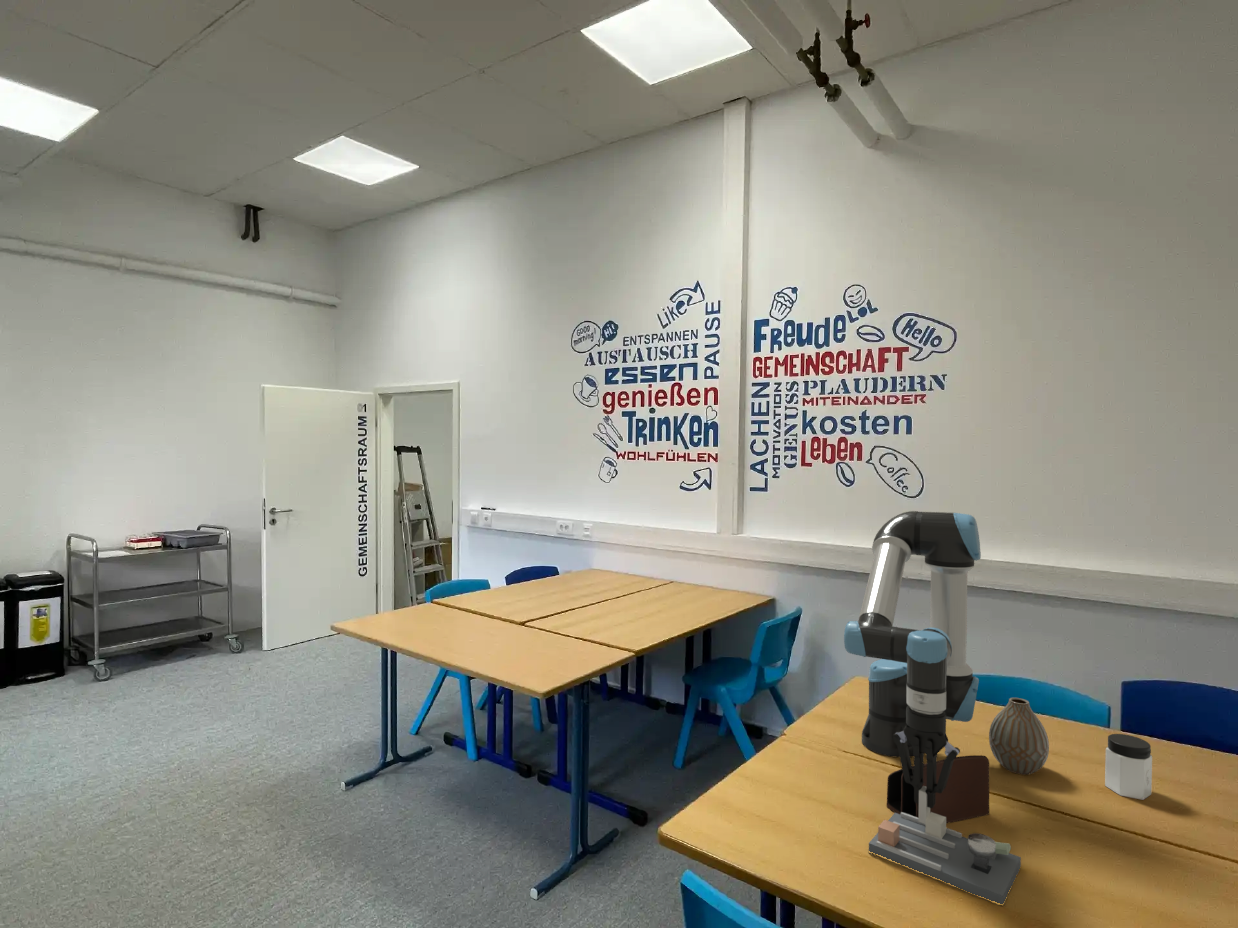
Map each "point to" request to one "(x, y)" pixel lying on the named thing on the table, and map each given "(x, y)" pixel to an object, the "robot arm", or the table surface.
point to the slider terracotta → (888, 833)
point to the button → (981, 849)
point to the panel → (950, 859)
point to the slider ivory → (935, 825)
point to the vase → (1019, 738)
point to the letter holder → (947, 790)
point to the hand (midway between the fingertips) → (924, 819)
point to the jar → (1128, 766)
